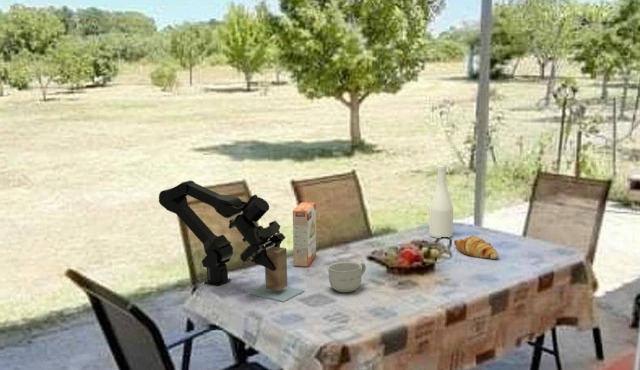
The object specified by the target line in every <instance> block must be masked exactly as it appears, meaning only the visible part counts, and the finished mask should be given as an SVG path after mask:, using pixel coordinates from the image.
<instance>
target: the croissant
mask: <svg viewBox="0 0 640 370" xmlns="http://www.w3.org/2000/svg"><path fill="white" fill-rule="evenodd" d="M453 243H454V245H455V247H456V248H457V250H458V251H459V252H461V253H462V254H464V255H467V256H469V257H473V258H474V257H475V258H481V259H483V258H484V259H487V258H488V259H491V260H495V259H498V257H499V254H498V252H497V250H496V249H495V248H494V246H493V245H492V244H491V243H490V242H486V241H485V240H484V238H481V237H479V236H477V235H476V236H475V235H472V236H469V237H465V238H463V239H458V240H457V239H455V240H454V242H453Z"/></svg>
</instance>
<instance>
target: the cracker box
mask: <svg viewBox="0 0 640 370" xmlns="http://www.w3.org/2000/svg"><path fill="white" fill-rule="evenodd" d="M316 205H317V204H316V202H305V201H301V202H300V203H299V204H298V205H297V206H296V207H295V208H294V209H292V241H293V242H292V243H293V244H292V247H293V248H292V249H293V250H292V251H293V252H292V253H293V256H292V257H293V267H303V268H304V267H305V268H306V267H307V268H308V267H309V266H310V265H311V264H312V262H313V261H314V259H315V258H316V256H317V227H316V225H317V223H316V222H317V219H316V218H317V214H316V213H317V209H316Z"/></svg>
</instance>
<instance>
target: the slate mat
mask: <svg viewBox="0 0 640 370" xmlns="http://www.w3.org/2000/svg"><path fill="white" fill-rule="evenodd" d="M305 291H306V290H304V289H302V288H301V289H300V288H297V287H290V286H288V285H287V286H286V287H285V288H283V289H281V290H280V291H277V290H272V289H267V288H266V284H265V285H263V286H261V287H259V288H256V289H254V290H252V291H251V290H250V292H248V295H253V296H257V297H259V298H260V297H261V298H265V299H269V300H273V301H278V302H281V303H285V302H287V301H289V300H291V299H293V298H295V297H297V296H298V295H301V294H303V293H305Z"/></svg>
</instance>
